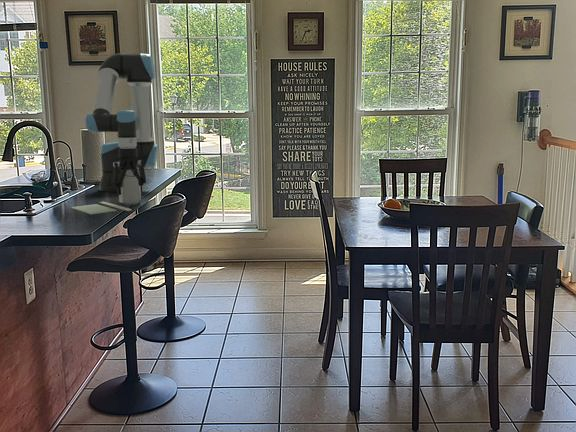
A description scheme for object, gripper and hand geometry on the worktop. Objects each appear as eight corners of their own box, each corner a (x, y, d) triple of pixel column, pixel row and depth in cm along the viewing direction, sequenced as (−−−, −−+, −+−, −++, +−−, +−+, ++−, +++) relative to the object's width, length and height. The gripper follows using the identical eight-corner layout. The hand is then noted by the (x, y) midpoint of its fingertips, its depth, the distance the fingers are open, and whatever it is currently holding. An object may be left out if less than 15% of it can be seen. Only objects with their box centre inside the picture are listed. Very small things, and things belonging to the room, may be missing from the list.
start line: (104, 202, 258) (104, 201, 258) (131, 210, 241) (131, 209, 241) (99, 203, 257) (99, 202, 257) (127, 211, 240) (127, 209, 240)
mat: (96, 204, 253) (96, 204, 253) (116, 211, 240) (116, 210, 240) (71, 208, 246) (70, 207, 245) (90, 214, 233) (90, 213, 233)
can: (117, 204, 255) (116, 176, 252) (129, 201, 261) (128, 174, 259) (130, 206, 251) (129, 177, 249) (143, 203, 258) (141, 175, 255)
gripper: (109, 149, 242) (112, 205, 246) (153, 146, 256) (155, 199, 260) (100, 148, 247) (103, 202, 252) (144, 145, 261) (146, 197, 265)
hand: (130, 201), depth 256 cm, fingers closed on can, 7 cm apart
